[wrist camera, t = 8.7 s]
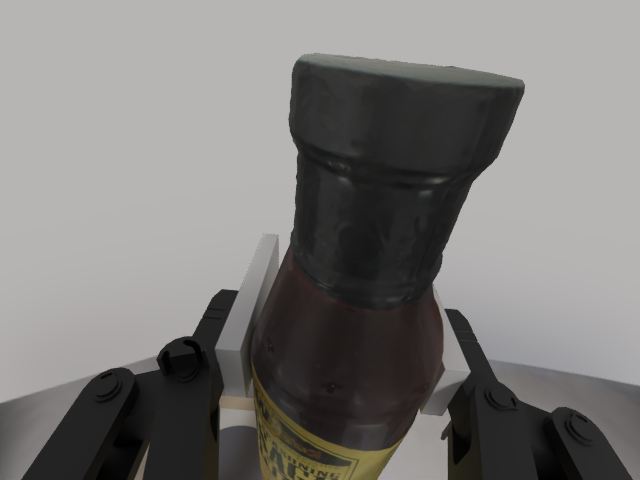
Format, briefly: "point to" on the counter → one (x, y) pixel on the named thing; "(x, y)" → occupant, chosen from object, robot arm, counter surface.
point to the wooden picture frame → (234, 441)
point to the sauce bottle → (366, 256)
